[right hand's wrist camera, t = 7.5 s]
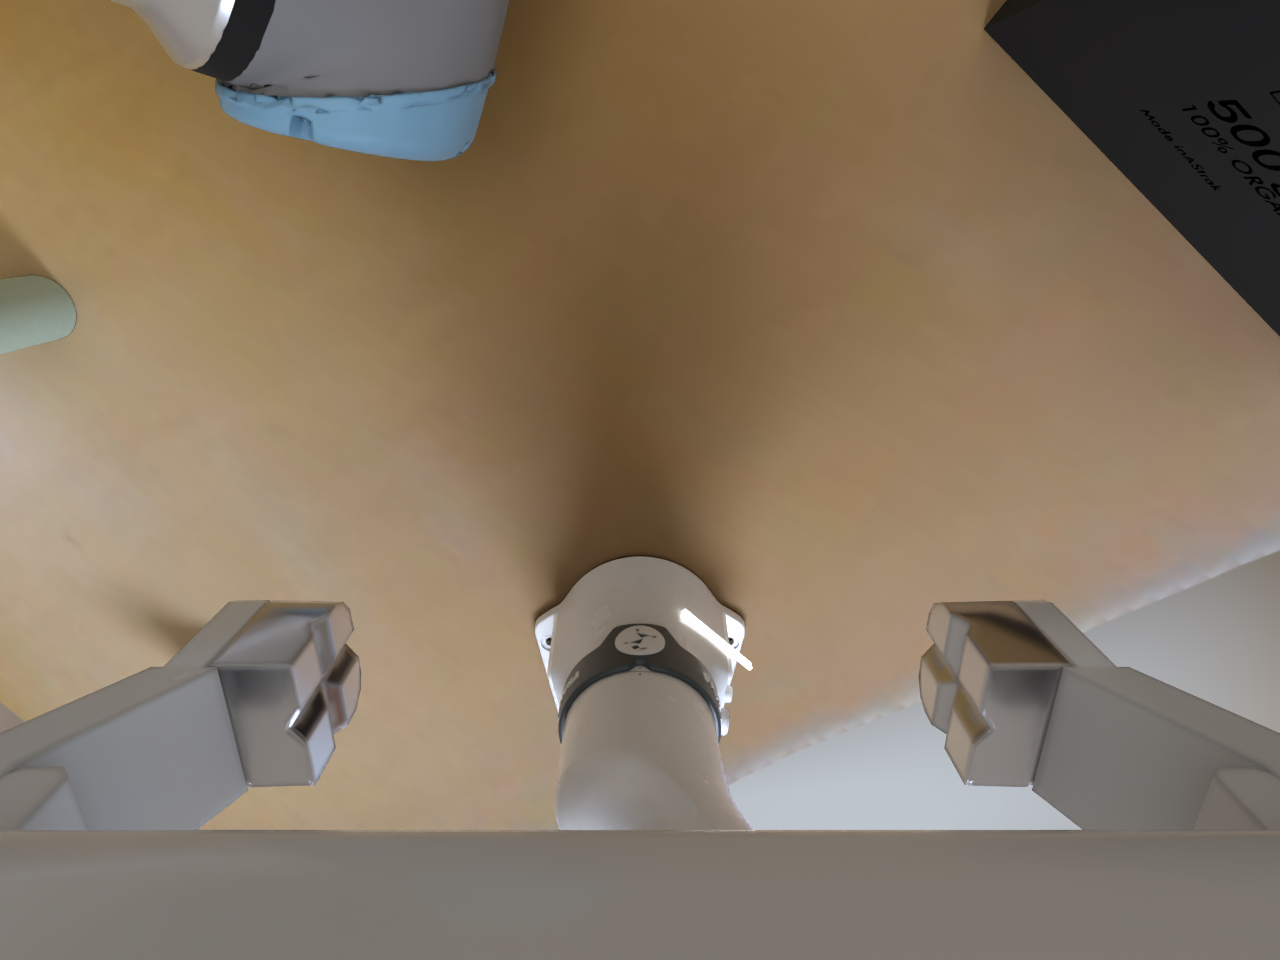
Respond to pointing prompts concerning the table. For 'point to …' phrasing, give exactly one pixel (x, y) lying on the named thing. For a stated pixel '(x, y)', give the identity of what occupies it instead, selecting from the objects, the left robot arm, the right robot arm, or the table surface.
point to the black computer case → (1174, 113)
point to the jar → (33, 312)
